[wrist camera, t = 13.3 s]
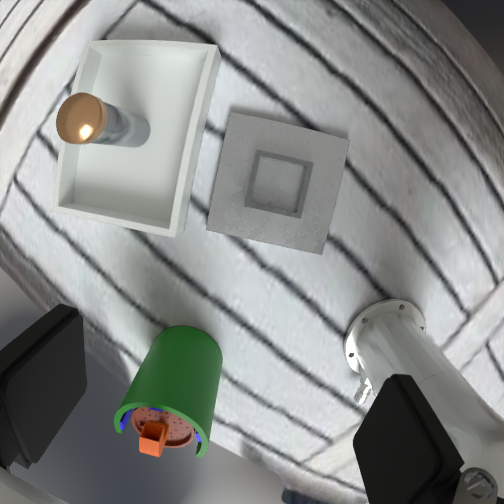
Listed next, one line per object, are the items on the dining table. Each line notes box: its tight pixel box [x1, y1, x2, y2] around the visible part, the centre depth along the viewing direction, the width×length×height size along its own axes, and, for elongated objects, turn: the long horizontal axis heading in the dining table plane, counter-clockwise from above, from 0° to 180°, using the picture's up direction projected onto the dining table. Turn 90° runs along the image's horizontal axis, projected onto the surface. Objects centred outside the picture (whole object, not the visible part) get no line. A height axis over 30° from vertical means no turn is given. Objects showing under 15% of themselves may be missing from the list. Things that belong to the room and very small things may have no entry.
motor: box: [114, 326, 222, 458], centre depth 33 cm, size 10×9×20 cm
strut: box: [56, 92, 150, 148], centre depth 28 cm, size 4×4×14 cm
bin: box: [52, 40, 222, 238], centre depth 33 cm, size 22×17×4 cm
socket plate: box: [206, 112, 350, 255], centre depth 35 cm, size 14×14×2 cm
